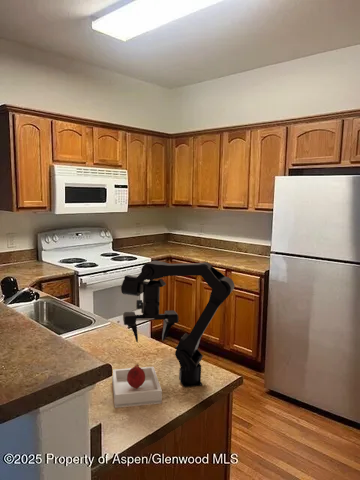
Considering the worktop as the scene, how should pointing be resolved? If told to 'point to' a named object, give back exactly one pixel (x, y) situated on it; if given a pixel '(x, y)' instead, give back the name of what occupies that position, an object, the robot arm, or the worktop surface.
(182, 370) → the robot arm
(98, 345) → the worktop surface
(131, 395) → the bin
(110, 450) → the worktop surface
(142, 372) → the onion
